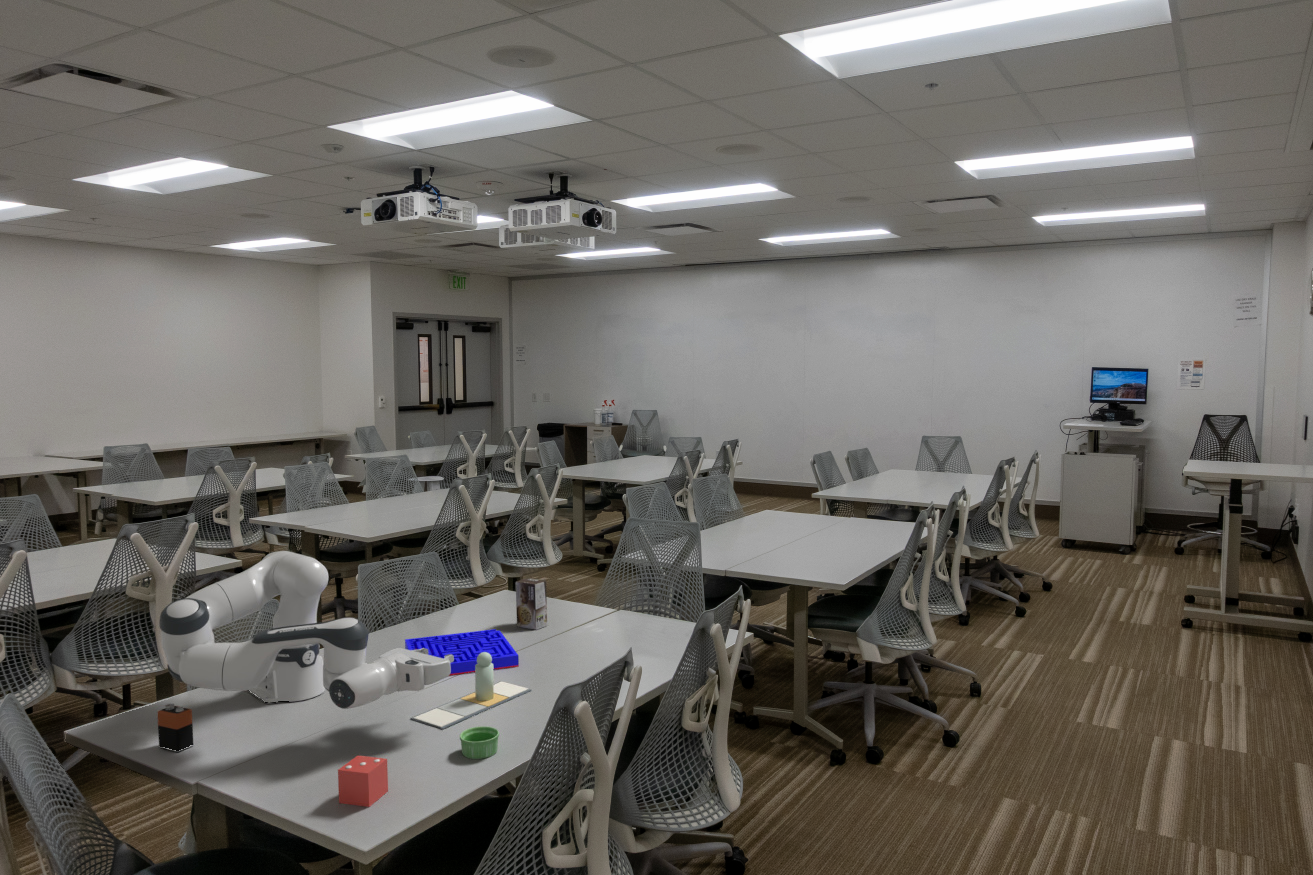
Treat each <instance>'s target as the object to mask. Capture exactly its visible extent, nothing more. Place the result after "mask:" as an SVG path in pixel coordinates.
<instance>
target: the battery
mask: <svg viewBox="0 0 1313 875" xmlns="http://www.w3.org/2000/svg"><path fill="white" fill-rule="evenodd" d="M156 715H157V730H158V732H157V733H158V747H159V746H160V747H165V748H169V749H172V750H176V751H179V750H181V749H184V748H186V747H189V746H190V745H193V746H194V729H193V727H194V726H193V725H194V724H193V710H192V708H188V707H184V706H178V705H175V704H174V703H168V704H165V705H164V708H162V709H159V710H158V711H157V714H156Z"/></svg>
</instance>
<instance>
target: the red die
mask: <svg viewBox="0 0 1313 875" xmlns="http://www.w3.org/2000/svg"><path fill="white" fill-rule="evenodd" d="M388 774H389V772H388V758H383V757H375V756H367V755H356V756H355V757H354V758H352V759H350V760H349V761H348V762H347V763H345V764H344V765H343V766H341V767H340V768H339V769H337V782H338V786H337V787H338V804H345V805H351V806H360V807H366V808H370V807H371V806H372V805H373V804H374V803H376V802H377V801H378V800H380V799H381V798H382V797H383V796H384V795H385V794H387V793H388V792H389V780H388V779H389V778H388V777H389V776H388Z"/></svg>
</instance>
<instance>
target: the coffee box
mask: <svg viewBox="0 0 1313 875" xmlns="http://www.w3.org/2000/svg"><path fill="white" fill-rule="evenodd" d="M547 599H548V598H547V580H545V579H539V578H530V577H526V578H522V579H519V580H517V581H515V600H516V601H515V602H516V603H515V604H516V606H515V607H516V627H517V626H518V627H517V628H524V629H529V630H536V631H537V630H540V629H542V628H545V627H547V626H548V608H547V601H548V600H547Z"/></svg>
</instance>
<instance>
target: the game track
mask: <svg viewBox="0 0 1313 875" xmlns="http://www.w3.org/2000/svg"><path fill="white" fill-rule="evenodd" d="M531 691H532V689H530V688H528V687H525V686H520V685H516V684H513V683H509V682H505V681H498V682H495V683H494V698H493V699H491V700H489V701H478V700H476V699H475V691H473V692H471V693H468V694H466V695H463V696H461V697H458V698H456V699H454V700H452V701H451V700H450V701H449V702H446V703H444V704H442V705H439V706H436V707H433V708H432V709H429V710H426V711H424V712H422V713H420V714H417V715H415V716H412V717H410V720H412V721H416V722H418V723H421V724H425V725H428V726H430V727H433V726H434V728H436V727H437V729H440V730H446V729H447V728H450V727H452V726H454V725H456V724H459V723H461V722H463V720H464V721H466V720H468V719H470V718H473V717H475V716H478V715H479V713H480V714H482V713H484V712H486V711H488V709H489V710H491V709H493V708H495V706H496V707H497V705H498V706H500V705H501V704H504V702H505V703H506V701H507V702H509V701H512V700H514V699H515V698H519V697H520V696H523V695H525V694H527V693H529V692H531ZM490 708H491V709H490ZM485 710H486V711H485ZM483 711H484V712H483ZM481 712H482V713H481ZM474 715H475V716H474ZM472 716H473V717H472Z"/></svg>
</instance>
